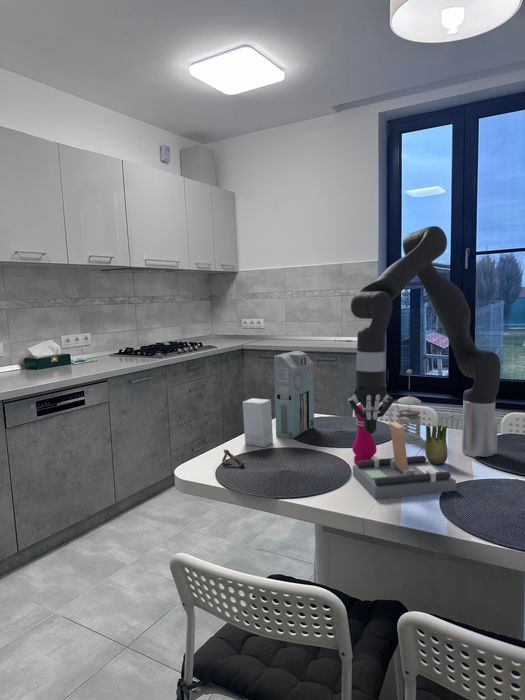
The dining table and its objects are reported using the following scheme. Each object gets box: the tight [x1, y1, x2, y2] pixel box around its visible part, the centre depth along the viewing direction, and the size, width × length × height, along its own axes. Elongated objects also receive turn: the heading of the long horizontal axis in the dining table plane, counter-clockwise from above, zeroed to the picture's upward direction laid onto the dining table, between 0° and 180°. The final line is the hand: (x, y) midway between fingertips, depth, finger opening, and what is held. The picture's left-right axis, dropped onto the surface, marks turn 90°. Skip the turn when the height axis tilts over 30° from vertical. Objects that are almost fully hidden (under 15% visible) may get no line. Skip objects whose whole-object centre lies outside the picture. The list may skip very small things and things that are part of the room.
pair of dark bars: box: [356, 455, 452, 485], centre depth 126 cm, size 21×15×2 cm
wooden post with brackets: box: [221, 449, 246, 468], centre depth 144 cm, size 2×8×4 cm, turn 57°
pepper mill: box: [352, 403, 377, 465], centre depth 142 cm, size 7×7×20 cm
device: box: [273, 350, 315, 439], centre depth 175 cm, size 16×8×30 cm, turn 147°
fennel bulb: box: [424, 424, 448, 466], centre depth 140 cm, size 6×5×12 cm
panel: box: [352, 459, 457, 500], centre depth 126 cm, size 22×16×5 cm
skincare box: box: [242, 397, 274, 448], centre depth 163 cm, size 8×7×16 cm
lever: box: [388, 421, 408, 473], centre depth 125 cm, size 2×6×13 cm, turn 9°
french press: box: [388, 369, 424, 444], centre depth 163 cm, size 10×12×25 cm
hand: (370, 432), depth 124 cm, fingers closed
